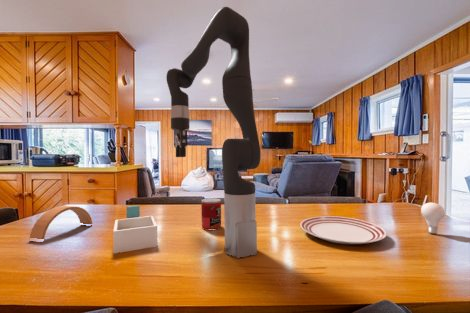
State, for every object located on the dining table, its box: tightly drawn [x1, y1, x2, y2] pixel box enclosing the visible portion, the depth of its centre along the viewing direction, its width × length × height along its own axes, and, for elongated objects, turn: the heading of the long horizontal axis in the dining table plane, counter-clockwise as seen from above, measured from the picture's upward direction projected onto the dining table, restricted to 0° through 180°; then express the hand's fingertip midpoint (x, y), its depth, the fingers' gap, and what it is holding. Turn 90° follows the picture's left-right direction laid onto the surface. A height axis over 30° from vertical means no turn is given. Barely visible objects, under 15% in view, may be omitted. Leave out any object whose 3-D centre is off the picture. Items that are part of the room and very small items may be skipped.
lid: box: [126, 204, 141, 219], centre depth 93 cm, size 15×13×8 cm
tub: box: [112, 215, 158, 254], centre depth 76 cm, size 14×12×7 cm
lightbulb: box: [420, 202, 446, 235], centre depth 82 cm, size 6×6×11 cm
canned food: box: [200, 197, 222, 230], centre depth 93 cm, size 8×8×11 cm
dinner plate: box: [299, 215, 388, 245], centre depth 83 cm, size 28×27×3 cm
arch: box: [29, 205, 93, 240], centre depth 88 cm, size 6×20×10 cm, turn 164°
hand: (180, 157), depth 97 cm, fingers open, 8 cm apart
